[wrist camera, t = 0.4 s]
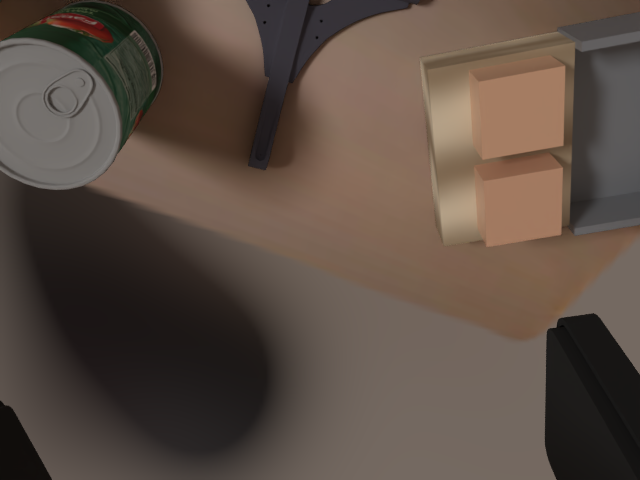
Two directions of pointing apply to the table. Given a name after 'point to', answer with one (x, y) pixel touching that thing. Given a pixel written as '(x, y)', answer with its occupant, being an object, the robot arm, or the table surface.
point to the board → (456, 127)
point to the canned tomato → (74, 93)
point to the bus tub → (605, 124)
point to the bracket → (298, 49)
